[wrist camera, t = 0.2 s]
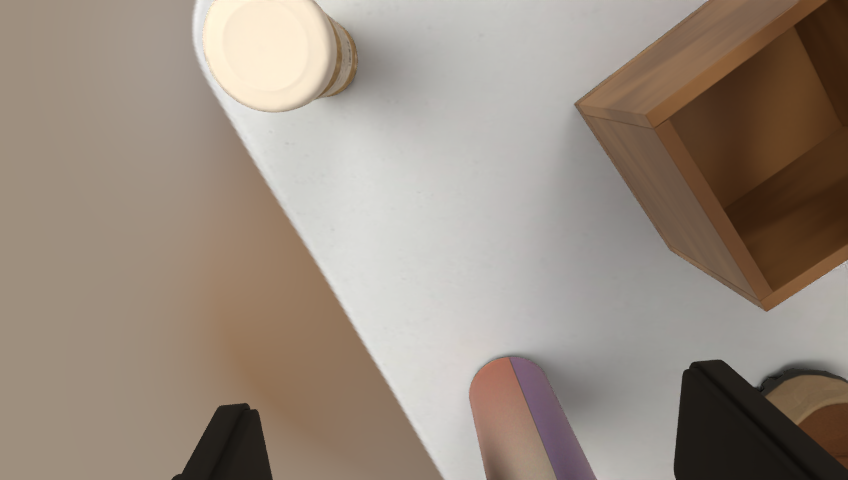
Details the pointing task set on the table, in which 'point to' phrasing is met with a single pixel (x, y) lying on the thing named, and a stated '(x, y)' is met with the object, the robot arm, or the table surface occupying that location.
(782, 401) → the hiking shoe
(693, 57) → the brown wooden open box
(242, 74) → the sprinkles bottle
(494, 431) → the beverage can
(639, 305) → the table surface
